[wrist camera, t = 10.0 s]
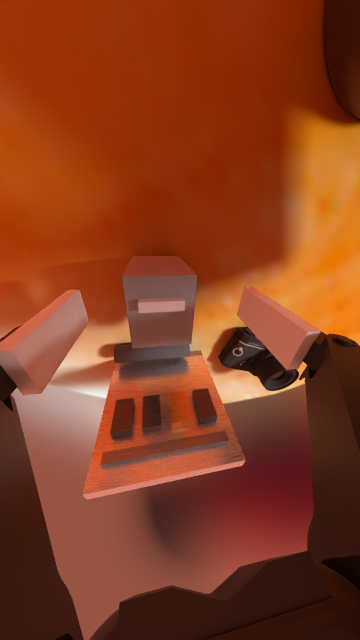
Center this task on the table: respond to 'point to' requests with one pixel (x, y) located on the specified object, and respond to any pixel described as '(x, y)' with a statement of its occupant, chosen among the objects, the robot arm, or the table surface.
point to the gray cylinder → (149, 353)
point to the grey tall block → (159, 300)
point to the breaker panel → (160, 427)
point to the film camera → (256, 360)
